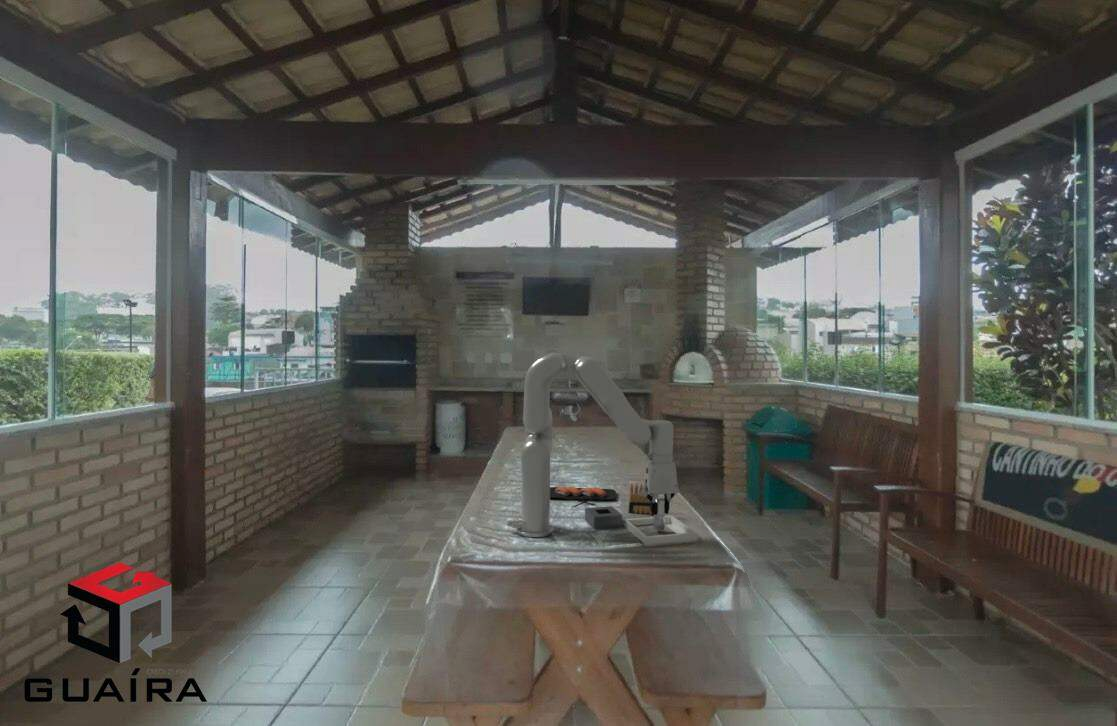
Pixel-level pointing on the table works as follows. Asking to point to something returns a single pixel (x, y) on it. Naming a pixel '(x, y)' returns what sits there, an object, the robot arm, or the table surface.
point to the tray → (671, 522)
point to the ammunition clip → (642, 504)
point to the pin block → (603, 517)
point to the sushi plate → (582, 494)
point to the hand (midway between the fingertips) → (659, 512)
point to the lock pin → (660, 514)
